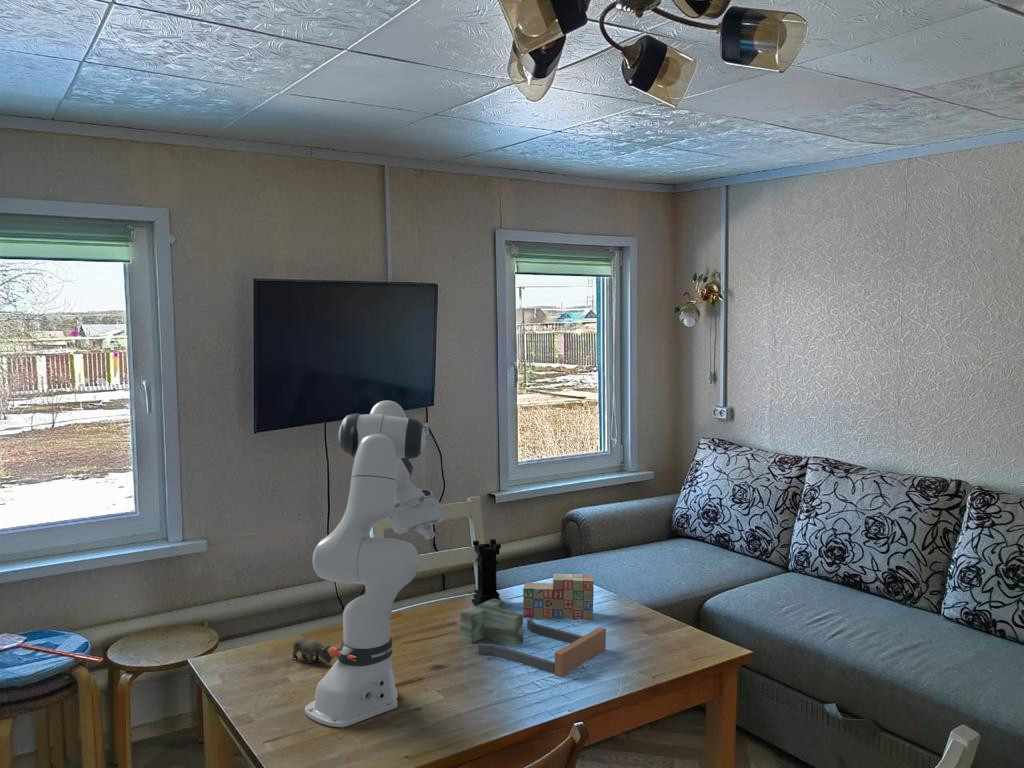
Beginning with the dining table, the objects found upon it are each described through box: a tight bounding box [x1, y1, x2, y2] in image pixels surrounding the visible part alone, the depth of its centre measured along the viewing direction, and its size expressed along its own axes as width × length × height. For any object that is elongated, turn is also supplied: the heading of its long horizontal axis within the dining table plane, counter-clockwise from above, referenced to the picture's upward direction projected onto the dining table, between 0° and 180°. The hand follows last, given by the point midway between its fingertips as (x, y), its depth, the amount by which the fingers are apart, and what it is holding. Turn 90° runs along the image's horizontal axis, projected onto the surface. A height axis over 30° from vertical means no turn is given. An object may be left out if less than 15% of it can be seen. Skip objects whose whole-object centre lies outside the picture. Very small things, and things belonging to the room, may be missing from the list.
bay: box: [477, 618, 607, 678], centre depth 225 cm, size 24×27×6 cm
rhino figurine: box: [291, 636, 335, 664], centre depth 219 cm, size 4×14×6 cm, turn 61°
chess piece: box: [471, 538, 502, 607], centre depth 262 cm, size 8×8×20 cm
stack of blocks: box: [522, 573, 595, 621], centre depth 253 cm, size 21×6×12 cm, turn 84°
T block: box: [459, 598, 524, 647], centre depth 235 cm, size 15×15×8 cm
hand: (431, 537), depth 248 cm, fingers closed
